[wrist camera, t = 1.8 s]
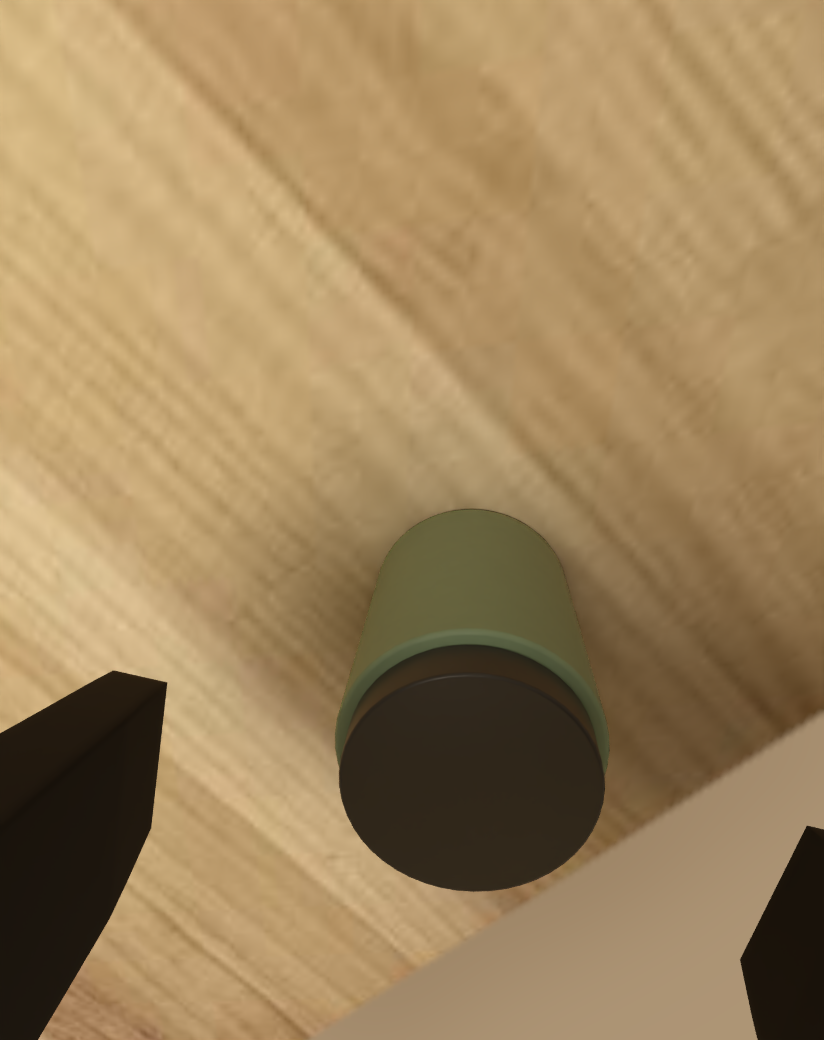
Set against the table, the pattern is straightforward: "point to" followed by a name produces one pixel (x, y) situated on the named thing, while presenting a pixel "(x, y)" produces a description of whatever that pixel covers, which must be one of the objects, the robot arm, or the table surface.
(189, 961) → the table surface
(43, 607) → the table surface
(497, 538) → the green lidded canister
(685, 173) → the table surface
